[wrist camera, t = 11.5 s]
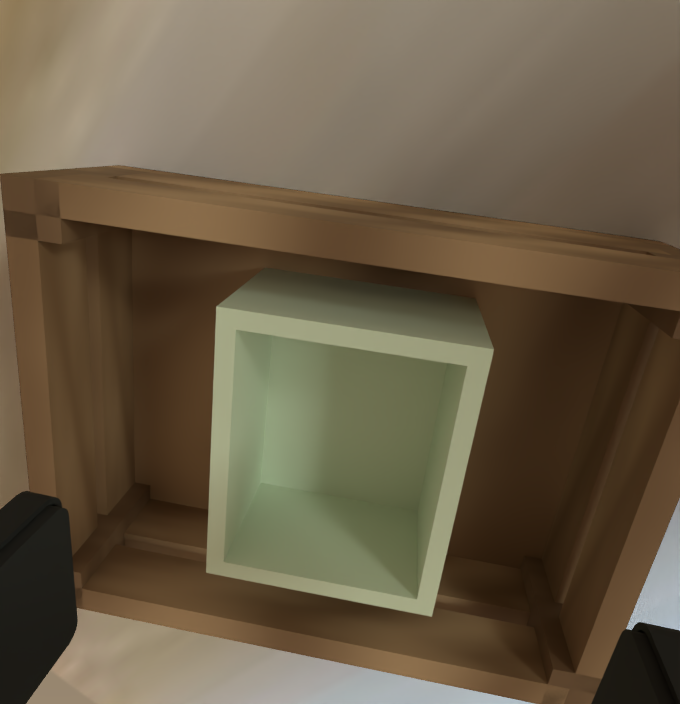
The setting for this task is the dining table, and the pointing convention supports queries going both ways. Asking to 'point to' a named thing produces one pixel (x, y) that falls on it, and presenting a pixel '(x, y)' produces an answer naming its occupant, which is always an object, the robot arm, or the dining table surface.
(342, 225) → the large crate
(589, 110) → the dining table surface
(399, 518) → the small crate
